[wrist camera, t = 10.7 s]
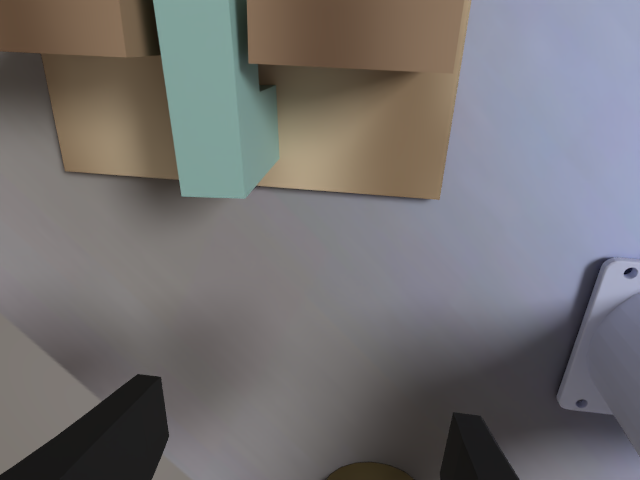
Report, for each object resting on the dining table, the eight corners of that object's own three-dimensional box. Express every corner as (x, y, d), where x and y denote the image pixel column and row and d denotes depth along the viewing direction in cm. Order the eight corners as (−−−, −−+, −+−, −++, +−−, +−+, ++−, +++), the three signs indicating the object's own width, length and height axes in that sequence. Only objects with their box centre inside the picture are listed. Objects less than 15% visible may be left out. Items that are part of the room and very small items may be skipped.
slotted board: (497, -186, 13) (569, -327, 8) (437, 195, 18) (459, 254, 13) (4, -184, 15) (-191, -300, 10) (73, 167, 20) (-32, 211, 15)
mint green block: (266, -120, 14) (212, -196, 10) (279, 158, 18) (245, 198, 13) (206, -117, 14) (125, -190, 10) (231, 157, 18) (181, 196, 14)
